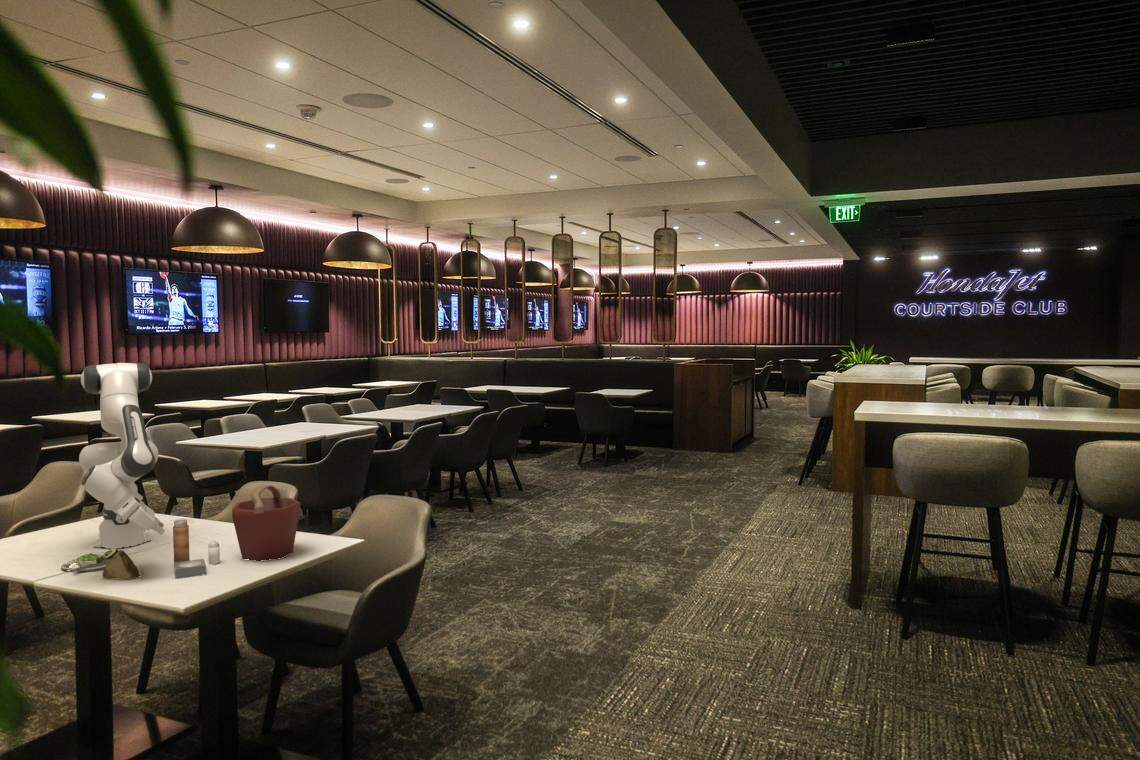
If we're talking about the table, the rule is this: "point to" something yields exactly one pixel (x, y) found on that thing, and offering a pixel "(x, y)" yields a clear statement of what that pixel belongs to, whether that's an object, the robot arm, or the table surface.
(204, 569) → the plinth
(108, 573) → the rock
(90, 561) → the plate of avocado toast
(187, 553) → the pepper mill
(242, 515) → the bucket
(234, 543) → the table surface
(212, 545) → the salt shaker
